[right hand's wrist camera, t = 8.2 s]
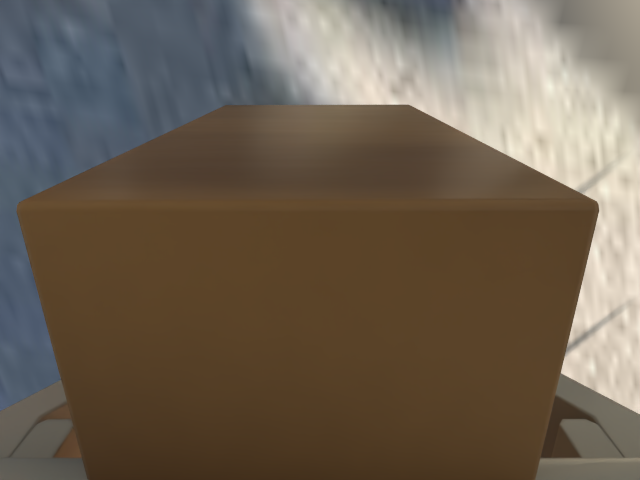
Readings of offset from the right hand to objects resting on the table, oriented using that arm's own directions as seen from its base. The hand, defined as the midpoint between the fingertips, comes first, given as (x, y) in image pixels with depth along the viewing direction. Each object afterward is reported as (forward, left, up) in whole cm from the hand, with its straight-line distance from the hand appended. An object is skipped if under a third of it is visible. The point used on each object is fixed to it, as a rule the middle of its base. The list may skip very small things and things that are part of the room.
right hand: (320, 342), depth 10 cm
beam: (+18, -20, -4) cm, 27 cm away
